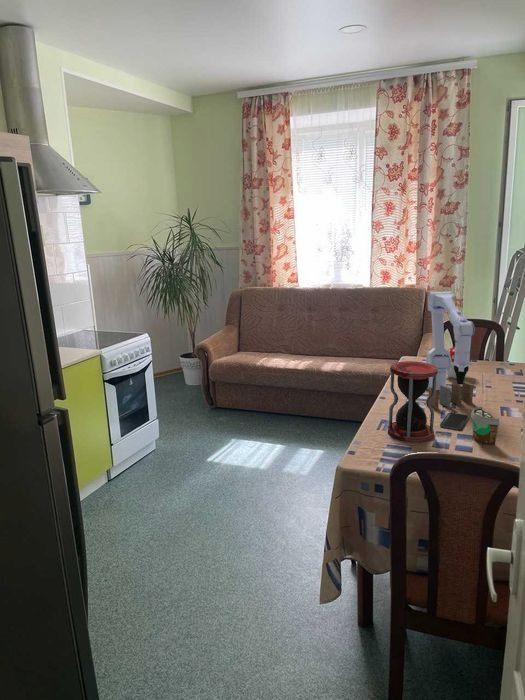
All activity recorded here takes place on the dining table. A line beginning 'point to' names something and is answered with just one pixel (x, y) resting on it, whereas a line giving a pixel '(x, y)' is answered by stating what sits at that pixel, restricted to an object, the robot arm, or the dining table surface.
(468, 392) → the domino
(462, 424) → the phone
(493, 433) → the food container
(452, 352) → the decorative mushroom
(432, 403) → the domino
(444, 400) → the domino
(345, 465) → the dining table surface
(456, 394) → the domino
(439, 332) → the robot arm
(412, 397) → the hourglass
